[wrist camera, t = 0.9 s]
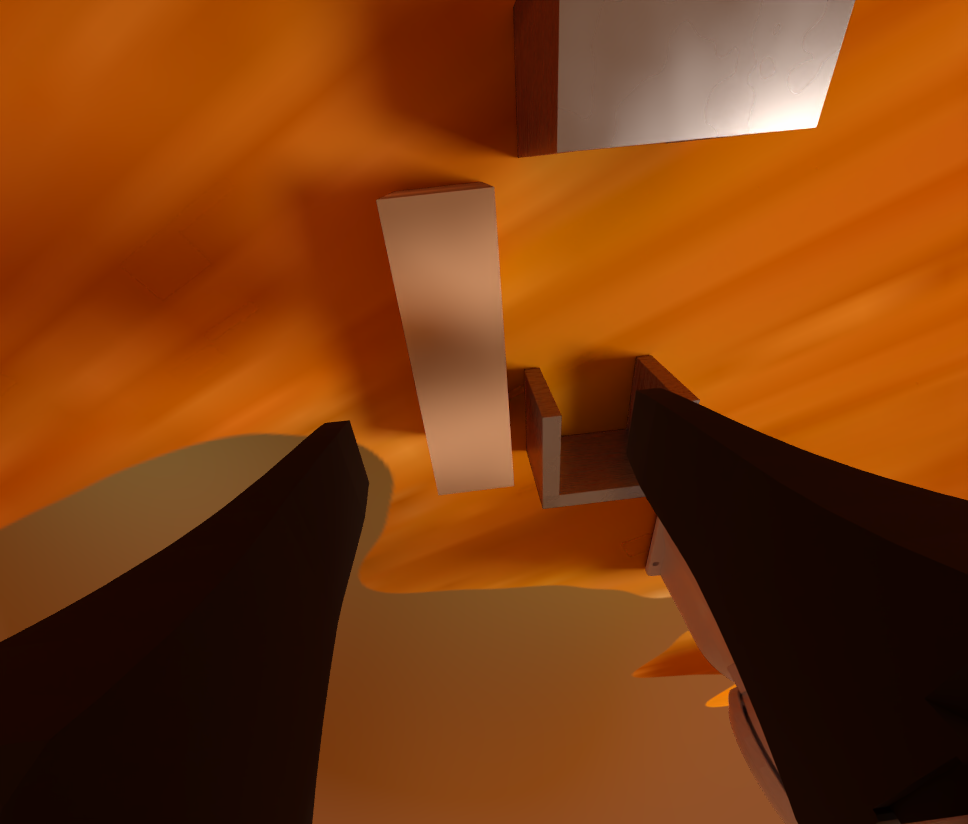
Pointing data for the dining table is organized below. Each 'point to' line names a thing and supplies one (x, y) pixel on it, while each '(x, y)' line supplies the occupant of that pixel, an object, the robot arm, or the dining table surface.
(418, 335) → the light brown long block
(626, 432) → the open end cap
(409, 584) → the dining table surface
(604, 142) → the grey rectangular block
